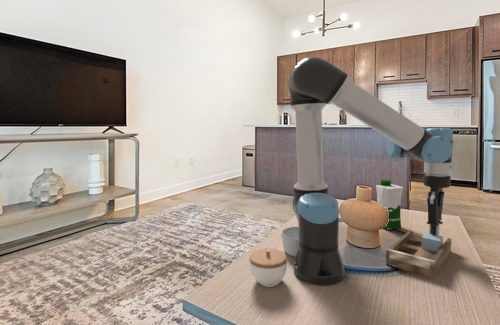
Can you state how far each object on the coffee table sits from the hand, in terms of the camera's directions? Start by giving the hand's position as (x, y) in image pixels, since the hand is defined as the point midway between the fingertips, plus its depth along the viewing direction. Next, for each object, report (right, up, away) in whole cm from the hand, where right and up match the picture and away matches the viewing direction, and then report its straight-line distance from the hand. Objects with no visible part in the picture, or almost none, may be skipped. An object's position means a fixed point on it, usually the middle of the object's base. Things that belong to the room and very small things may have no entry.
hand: (433, 242), depth 97 cm
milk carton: (-3, -1, +26) cm, 26 cm away
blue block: (-2, -1, -2) cm, 3 cm away
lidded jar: (-58, -7, -14) cm, 60 cm away
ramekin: (-45, -5, +5) cm, 45 cm away
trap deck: (-7, -4, -3) cm, 9 cm away
